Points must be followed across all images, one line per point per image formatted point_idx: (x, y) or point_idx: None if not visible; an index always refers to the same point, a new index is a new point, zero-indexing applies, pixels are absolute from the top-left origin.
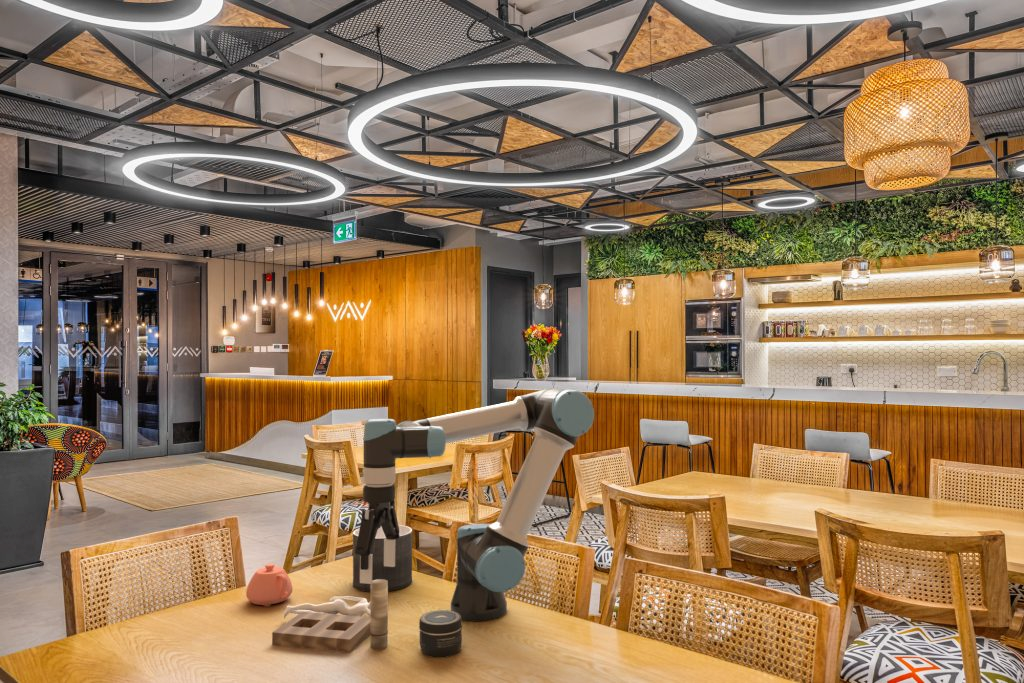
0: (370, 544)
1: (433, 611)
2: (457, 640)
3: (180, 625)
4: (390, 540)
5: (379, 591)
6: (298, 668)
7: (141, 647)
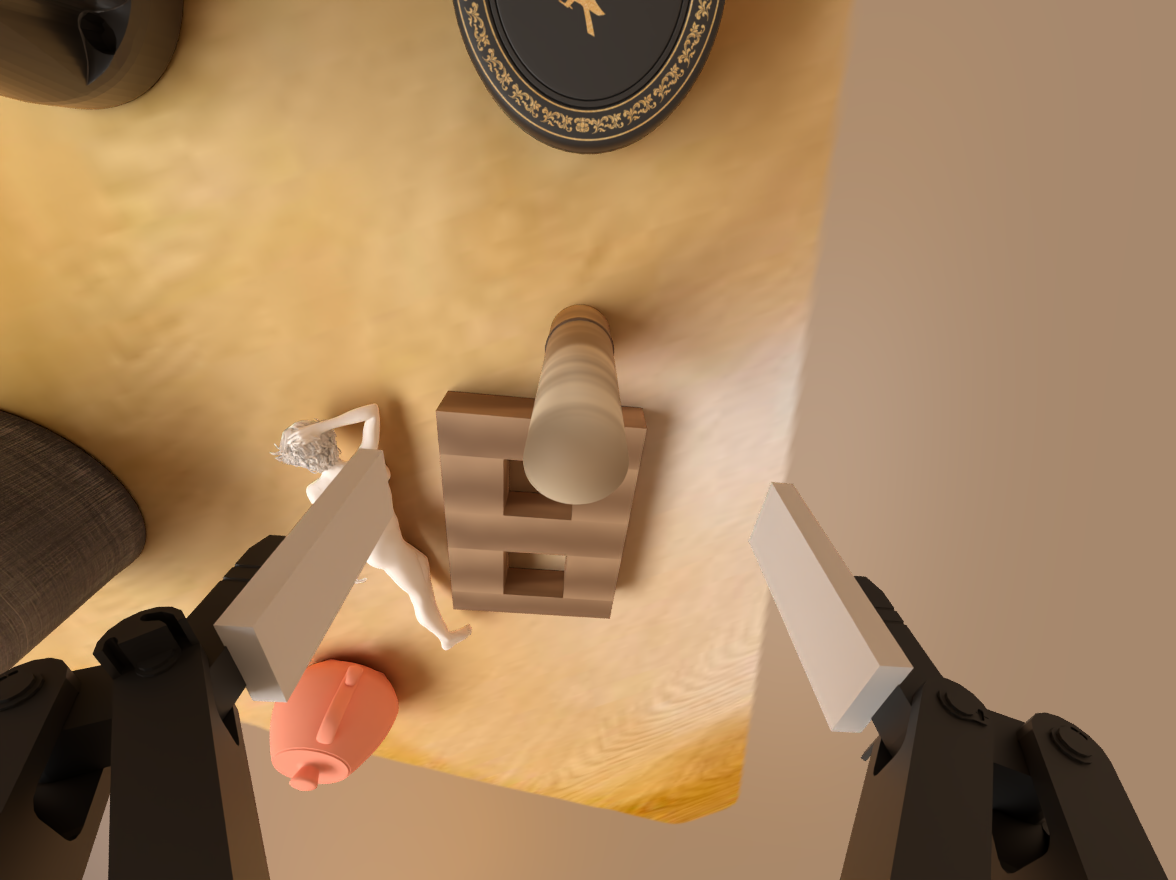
0: (988, 806)
1: (500, 73)
2: None
3: (532, 741)
4: (268, 652)
5: (623, 426)
6: (746, 496)
7: (638, 744)
